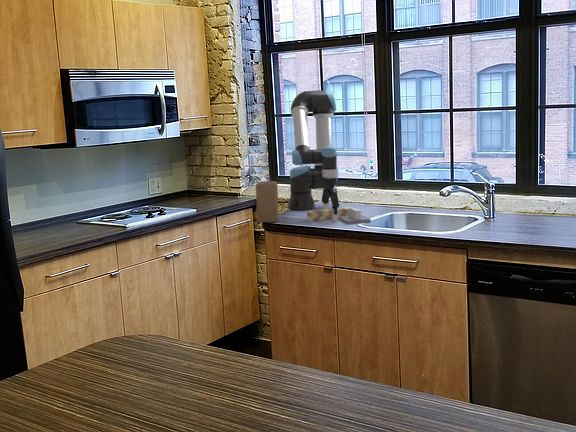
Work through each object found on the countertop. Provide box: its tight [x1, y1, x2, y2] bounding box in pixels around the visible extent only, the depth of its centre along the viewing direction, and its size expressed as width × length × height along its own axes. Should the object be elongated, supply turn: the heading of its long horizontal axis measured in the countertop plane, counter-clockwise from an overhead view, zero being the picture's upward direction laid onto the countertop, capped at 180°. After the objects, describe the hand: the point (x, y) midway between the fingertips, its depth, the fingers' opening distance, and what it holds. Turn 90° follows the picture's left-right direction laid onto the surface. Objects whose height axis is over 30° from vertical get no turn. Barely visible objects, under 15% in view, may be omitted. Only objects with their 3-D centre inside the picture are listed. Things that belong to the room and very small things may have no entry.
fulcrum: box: [338, 206, 372, 225], centre depth 336 cm, size 12×12×6 cm
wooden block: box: [255, 180, 280, 224], centre depth 342 cm, size 10×10×20 cm
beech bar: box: [306, 206, 352, 223], centre depth 344 cm, size 24×4×5 cm, turn 109°
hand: (330, 218), depth 344 cm, fingers open, 13 cm apart
